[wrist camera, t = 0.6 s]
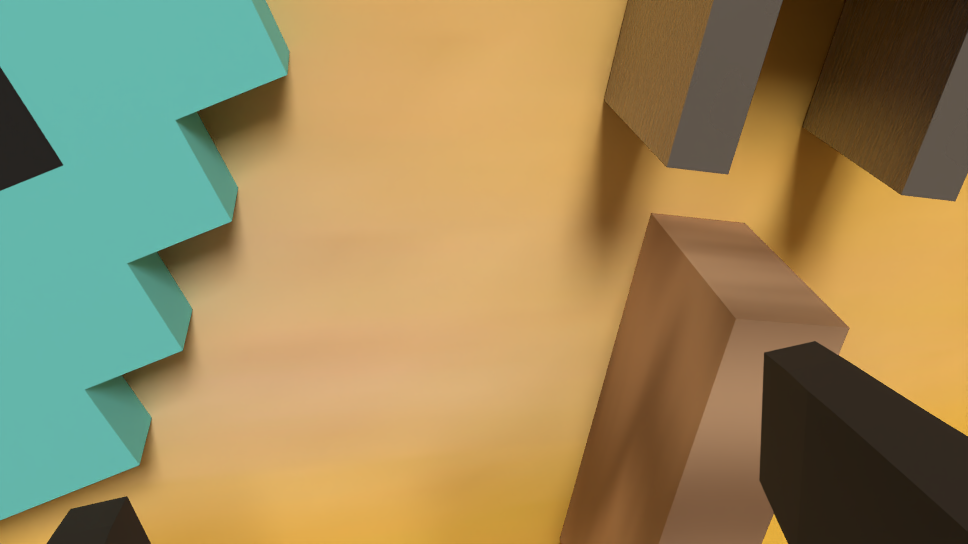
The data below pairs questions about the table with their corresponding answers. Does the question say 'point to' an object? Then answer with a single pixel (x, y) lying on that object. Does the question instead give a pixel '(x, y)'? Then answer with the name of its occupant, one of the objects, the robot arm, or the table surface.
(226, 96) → the alien figure
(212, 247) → the table surface
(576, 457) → the table surface
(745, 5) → the end cap
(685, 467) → the slat
